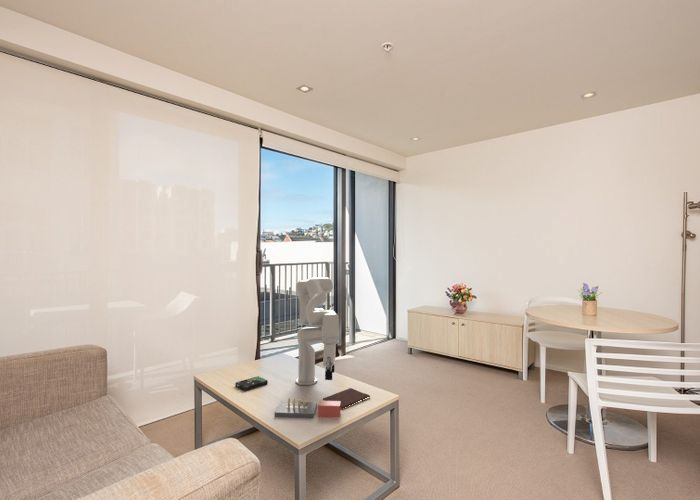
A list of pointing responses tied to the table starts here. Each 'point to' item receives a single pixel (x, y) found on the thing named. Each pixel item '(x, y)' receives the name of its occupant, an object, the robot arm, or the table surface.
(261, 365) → the table surface
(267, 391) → the table surface
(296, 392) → the table surface
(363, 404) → the table surface
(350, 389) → the notebook
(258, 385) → the disk drive
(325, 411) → the block
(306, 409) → the board
